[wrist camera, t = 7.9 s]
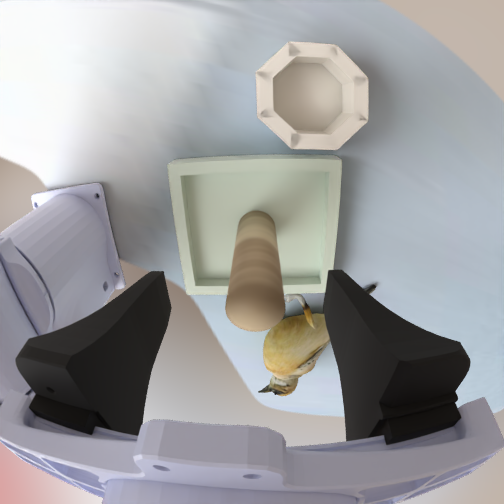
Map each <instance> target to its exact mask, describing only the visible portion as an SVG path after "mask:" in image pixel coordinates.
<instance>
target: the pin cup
mask: <svg viewBox="0 0 504 504" xmlns="http://www.w3.org/2000/svg"><path fill="white" fill-rule="evenodd" d="M255 73H256V93H257V118H259V119H260V120H261V121H262V122H263V123H264V124H265V125H267V126H268V127H269V128H270V129H271V130H272V131H273V132H274V133H275V134H276V135H277V136H278V137H279V138H281V139H282V140H283V141H284V142H285V143H286V144H287V145H288V146H289V147H290V148H291V149H319V150H338V149H339V148H340V147H341V146H342V145H343V144H344V143H345V142H346V141H347V140H348V139H349V138H351V137H352V136H353V135H354V134H355V133H356V132H357V131H358V130H359V129H360V128H361V127H362V126H363V125H365V124H366V123H367V122H368V77H367V76H366V75H365V74H364V73H363V72H362V71H361V70H360V69H359V68H358V66H357V65H356V64H355V63H354V62H353V61H352V60H351V59H350V58H349V57H348V56H347V55H346V54H345V53H344V52H343V51H342V50H341V49H340V48H339V47H338V46H337V45H333V44H322V43H308V42H288V43H287V44H286V45H285V46H283V47H282V48H281V49H280V50H279V51H278V52H277V53H276V54H275V55H273V56H272V57H271V58H270V59H269V60H268V61H267V62H266V63H265V64H264V65H263V66H262V67H261V68H260V69H258V70H257V71H256V72H255Z"/></svg>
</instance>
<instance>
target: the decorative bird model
mask: <svg viewBox="0 0 504 504" xmlns="http://www.w3.org/2000/svg"><path fill="white" fill-rule="evenodd" d="M375 288H376V286H375V285H372V286H370V287H369V288H367V289H366V290H365V291H366V292H367V293H368V294H370V293H372V292H373V291H374V290H375ZM284 298H285V299H286V301H285V302H290V301H292V300H293V299H298V301H299V302H300V303H301V305H302V307H303V310H304V313H305V314H304V315H298V316H291V317H288V318H285V319H282V320H281V321H280V322H279V323H278V324H277V325H276V326H274V327H272V328H271V329H270V331H269V332H268V334H267V335H266V338H265V341H264V347H263V358H264V363H265V366H266V368H267V370H268V371H270V372H272V373H273V376H272V378H271V380H270V384H269V385H268V386H266V387H265V388H264V389H262V390H261V391H259V393H260V392H262V393H266V392H271V391H272V392H273V393H274V394H275V395H276V394H277V395H279V396H287V395H289V394H291V393H292V392H293V391H294V390H295V388H296V386H297V383H298V378H299V377H301V376H302V375H303V374H306V373H308V372H310V371H311V370H312V369H313V368H314V366H315V363H316V360H317V359H318V357H319V356H320V354H321V353H322V351H323V350H324V349H325V348H326V346H327V345H328V343H329V342H330V338H329V334H328V331H327V328H326V322H325V316H324V314H318V313H315V314H312V313H311V310H310V308H309V306H308V305H307V303H306V301H305V299H304V298H303V296H302V295H301V294H286V295H285V296H284Z"/></svg>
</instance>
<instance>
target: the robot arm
mask: <svg viewBox="0 0 504 504" xmlns="http://www.w3.org/2000/svg"><path fill="white" fill-rule="evenodd" d="M97 193H98V194H99V196H100V198H98V197H97V195H96V194H97ZM31 200H32V204H33V208H34V210H33V211H31V212H30V213H28V214H27V215H25V216H24V217H22V218H21V219H19V220H18V221H16V222H15V223H13V224H12V225H11V226H9V227H8V228H6V229H5V230H4V231H3V232H1V233H0V442H1V443H2V444H3V445H5V446H6V447H7V448H8V449H9V450H10V451H12V452H13V453H14V454H16V455H17V456H18V457H19V458H20V459H22V460H23V461H25V462H27V463H29V464H30V465H32V466H34V467H37V468H38V469H40V470H42V471H44V472H46V473H48V474H50V475H52V476H54V477H56V478H58V479H60V480H62V481H64V482H66V483H68V484H71V485H73V486H75V487H77V488H80V489H82V490H84V491H87V492H89V493H92V494H94V495H97V496H99V497H102V498H103V501H102V504H396V503H399V502H402V501H405V500H408V499H411V498H414V497H416V496H419V495H422V494H424V493H426V492H429V491H431V490H434V489H436V488H439V487H441V486H444V485H446V484H448V483H451V482H453V481H455V480H457V479H460V478H462V477H464V476H466V475H468V474H470V473H472V472H473V471H475V470H476V469H477V468H479V467H480V466H481V465H483V464H484V463H485V462H487V461H488V460H489V459H490V458H492V457H493V456H494V455H495V454H496V453H498V452H499V451H500V450H501V449H502V448H503V447H504V439H503V436H502V434H501V432H500V429H499V427H498V424H497V422H496V420H495V418H494V415H493V413H492V411H491V409H490V407H489V405H488V403H487V401H486V399H485V397H482V398H479V399H477V400H474V401H471V402H468V403H466V404H464V405H462V406H460V407H459V408H457V406H456V404H455V402H456V401H457V400H458V396H457V394H456V392H455V391H456V389H457V388H458V386H459V385H460V384H461V382H462V381H463V379H464V378H465V376H466V374H467V372H468V371H469V367H470V358H469V357H468V355H467V353H466V351H465V350H464V348H463V346H462V345H461V343H460V342H458V341H454V340H451V339H448V338H445V337H441V336H439V335H436V334H434V333H431V332H429V331H426V330H424V329H422V328H420V327H418V326H416V325H414V324H412V323H410V322H408V321H406V320H405V319H403V318H401V317H400V316H398V315H396V314H395V313H393V312H392V311H390V310H389V309H387V308H386V307H385V306H383V305H382V304H381V303H379V302H378V301H377V300H376V299H374V298H373V297H372V296H371V295H369V294H368V293H367V292H366V291H365V290H364V289H363V288H361V287H360V286H359V285H358V284H357V283H356V282H355V281H354V280H353V279H352V278H350V277H349V276H348V275H347V274H346V273H345V272H344V271H343V270H328V276H327V283H326V291H325V298H324V305H323V309H324V316H325V322H326V328H327V331H328V334H329V338H330V341H331V345H332V348H333V351H334V355H335V358H336V362H337V365H338V370H339V374H340V381H341V387H342V395H343V403H344V413H345V426H346V442H338V443H331V444H320V445H309V446H294V447H286V441H285V439H284V437H283V436H282V434H280V433H279V432H276V431H274V430H271V429H269V428H266V427H258V426H249V425H220V424H204V423H192V422H182V421H173V420H150V421H148V422H146V423H144V424H142V423H143V415H144V407H145V401H146V395H147V389H148V385H149V380H150V375H151V371H152V368H153V364H154V362H155V359H156V356H157V353H158V351H159V348H160V345H161V343H162V340H163V337H164V334H165V332H166V329H167V326H168V321H169V317H170V312H171V304H170V299H169V295H168V290H167V286H166V281H165V276H164V271H151V272H149V273H148V274H146V275H145V276H144V277H142V278H141V279H140V280H138V281H137V282H136V283H135V284H133V285H132V286H131V287H130V288H128V289H127V290H126V291H124V292H123V293H122V294H120V295H119V296H118V297H116V298H115V299H113V300H112V301H111V302H109V303H108V304H107V305H105V304H106V302H107V301H108V299H109V297H110V296H111V294H112V293H113V291H114V290H115V289H123V288H124V287H125V285H126V283H125V279H124V276H123V272H122V269H121V265H120V261H119V258H118V254H117V250H116V246H115V242H114V238H113V234H112V229H111V225H110V221H109V216H108V211H107V206H106V201H105V196H104V191H103V187H102V185H101V184H100V183H92V184H85V185H79V186H72V187H66V188H60V189H55V190H49V191H44V192H39V193H35V194H33V195H32V197H31ZM37 204H38V205H37ZM115 272H116V273H118V274H119V275H117V274H116V273H115ZM104 305H105V306H104Z"/></svg>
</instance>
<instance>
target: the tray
mask: <svg viewBox="0 0 504 504" xmlns="http://www.w3.org/2000/svg"><path fill="white" fill-rule="evenodd" d="M167 169H168V177H169V186H170V194H171V201H172V209H173V216H174V223H175V229H176V236H177V242H178V248H179V254H180V260H181V266H182V272H183V277H184V283H185V288H186V293H187V295H227V293H228V286H229V280H230V273H231V267H232V260H233V254H234V248H235V241H236V235H237V229H238V223H239V221H240V219H241V218H242V216H243V215H245V214H246V213H248V212H250V211H263V212H265V213H267V214H268V215H270V216H271V218H272V219H273V221H274V223H275V229H276V236H277V244H278V251H279V259H280V267H281V275H282V283H283V291H284V294H301V293H325V291H326V283H327V276H328V270H333V266H334V258H335V249H336V239H337V229H338V217H339V205H340V190H341V173H342V160H341V159H340V158H339V157H337V156H336V155H312V154H263V155H233V156H214V157H199V158H186V159H175V160H173V161H172V162H170V163H169V164H167Z"/></svg>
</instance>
